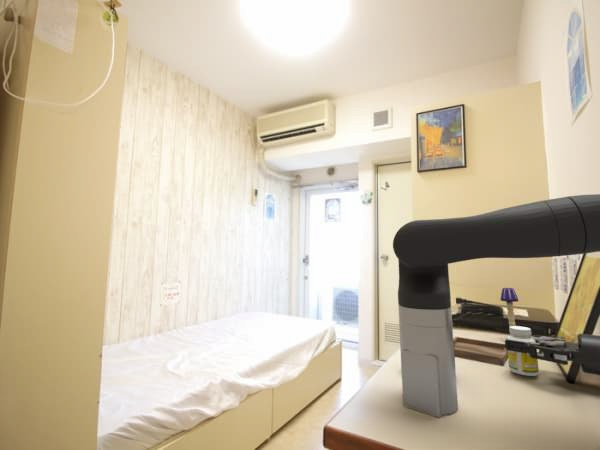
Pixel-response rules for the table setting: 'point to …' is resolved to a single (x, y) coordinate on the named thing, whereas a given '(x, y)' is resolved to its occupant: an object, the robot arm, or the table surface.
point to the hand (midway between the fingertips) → (507, 341)
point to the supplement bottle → (519, 360)
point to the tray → (480, 350)
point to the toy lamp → (509, 303)
